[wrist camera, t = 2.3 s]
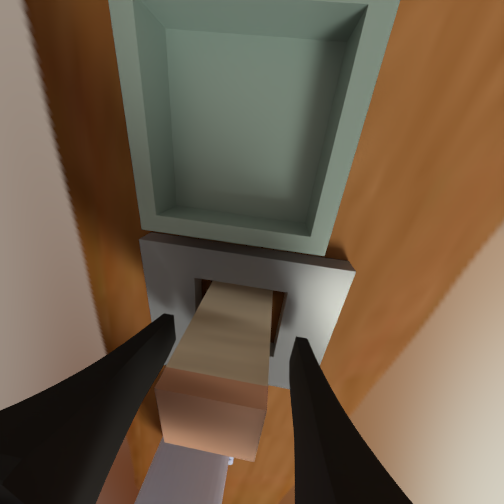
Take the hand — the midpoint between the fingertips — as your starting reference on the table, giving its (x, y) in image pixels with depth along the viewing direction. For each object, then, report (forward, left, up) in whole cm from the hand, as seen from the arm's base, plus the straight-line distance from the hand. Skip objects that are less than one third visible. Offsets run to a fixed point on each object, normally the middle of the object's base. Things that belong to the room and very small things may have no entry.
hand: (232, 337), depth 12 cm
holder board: (0, 0, -3) cm, 3 cm away
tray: (+10, +1, -3) cm, 11 cm away
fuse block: (0, 0, -3) cm, 3 cm away
